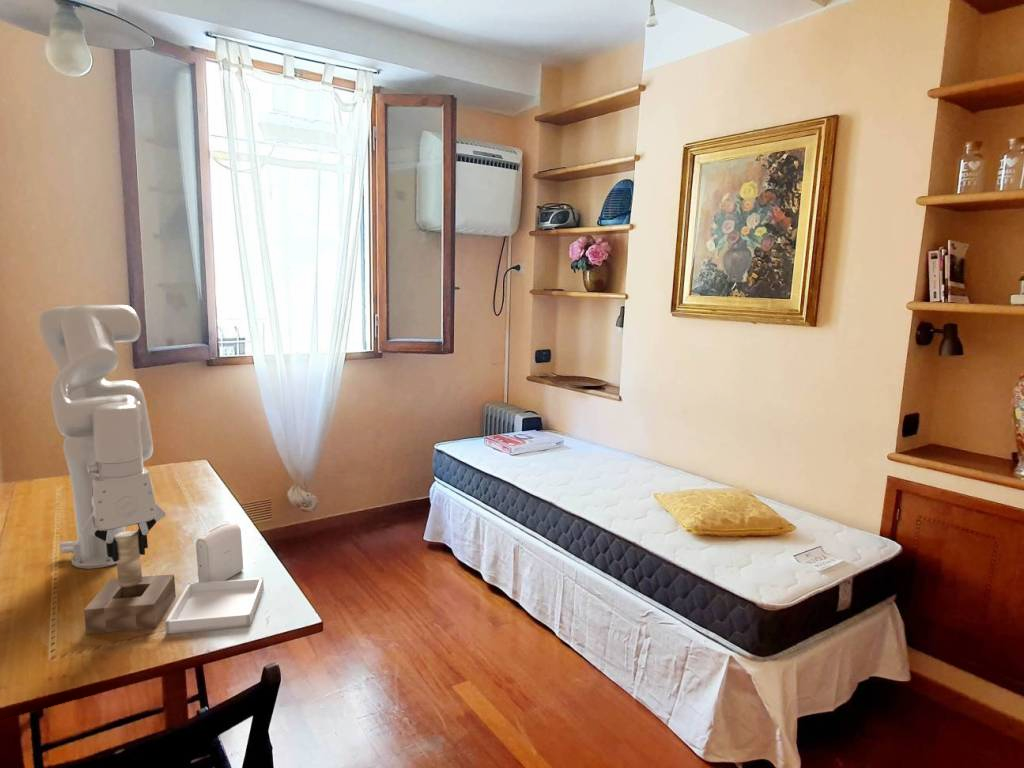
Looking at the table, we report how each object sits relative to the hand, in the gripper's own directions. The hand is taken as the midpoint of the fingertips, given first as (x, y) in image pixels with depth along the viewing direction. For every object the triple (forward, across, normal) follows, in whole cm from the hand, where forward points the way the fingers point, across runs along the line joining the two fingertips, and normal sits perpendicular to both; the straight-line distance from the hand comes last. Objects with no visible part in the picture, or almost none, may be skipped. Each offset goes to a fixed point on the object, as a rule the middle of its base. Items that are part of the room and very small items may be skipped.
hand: (128, 554), depth 121 cm
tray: (+12, +13, -9) cm, 21 cm away
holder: (+13, 0, 0) cm, 13 cm away
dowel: (+6, 0, 0) cm, 6 cm away
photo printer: (+13, +18, +4) cm, 23 cm away
